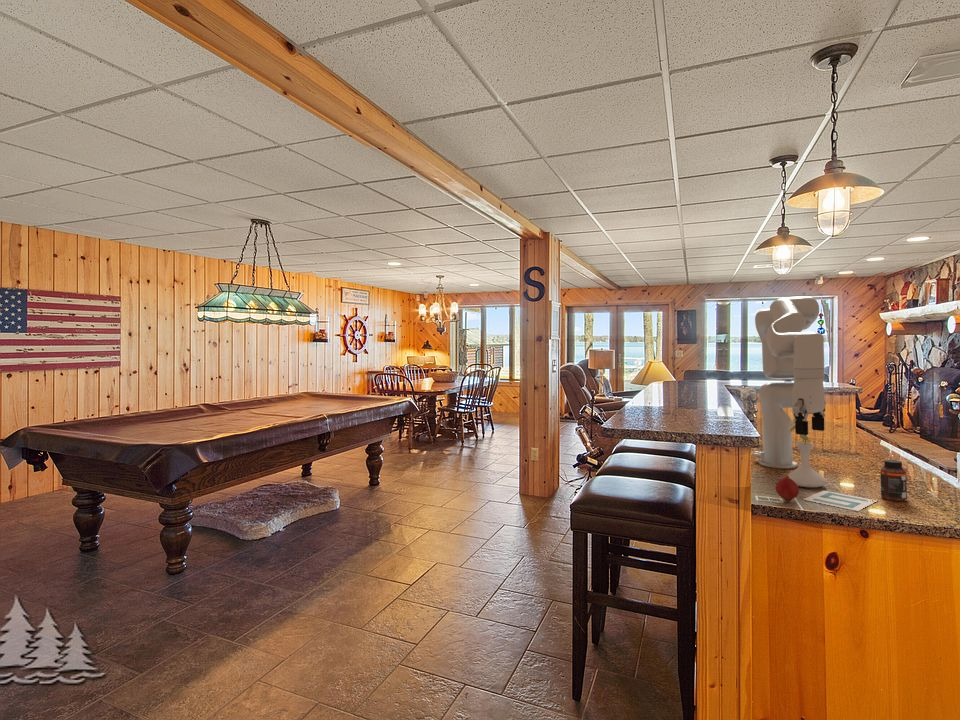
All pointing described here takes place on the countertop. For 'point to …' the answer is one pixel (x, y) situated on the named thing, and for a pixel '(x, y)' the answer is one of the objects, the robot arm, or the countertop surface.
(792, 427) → the flower in vase
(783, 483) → the onion
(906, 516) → the countertop surface
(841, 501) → the letter board
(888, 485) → the supplement bottle
